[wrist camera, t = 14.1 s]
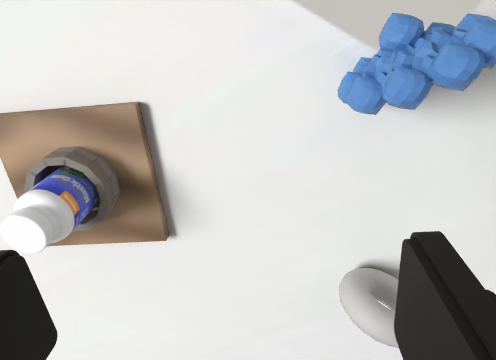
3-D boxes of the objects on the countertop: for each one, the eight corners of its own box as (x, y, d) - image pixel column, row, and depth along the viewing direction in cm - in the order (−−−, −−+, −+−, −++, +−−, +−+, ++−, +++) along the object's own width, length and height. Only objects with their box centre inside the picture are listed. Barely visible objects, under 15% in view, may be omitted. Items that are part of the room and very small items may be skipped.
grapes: (439, -28, 30) (534, -49, 19) (463, 47, 32) (561, 66, 21) (311, 47, 33) (331, 66, 22) (342, 110, 35) (373, 156, 24)
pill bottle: (112, 181, 39) (66, 231, 30) (91, 214, 41) (41, 271, 32) (67, 152, 38) (4, 195, 29) (47, 188, 40) (-17, 239, 31)
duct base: (168, 234, 43) (158, 256, 39) (43, 240, 44) (21, 262, 41) (138, 101, 36) (123, 112, 32) (-9, 114, 38) (-40, 126, 34)
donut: (416, 275, 43) (455, 345, 34) (402, 295, 45) (436, 368, 36) (339, 251, 42) (357, 316, 33) (328, 273, 44) (342, 341, 35)
